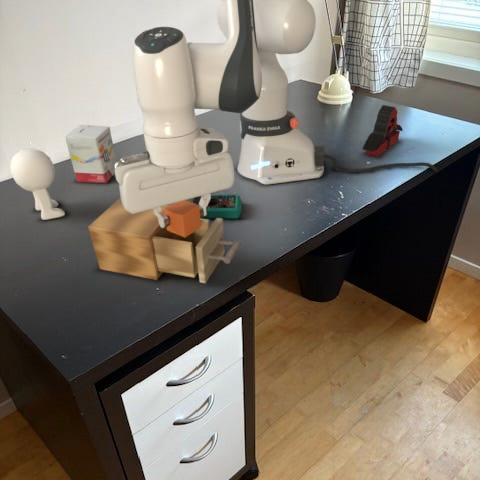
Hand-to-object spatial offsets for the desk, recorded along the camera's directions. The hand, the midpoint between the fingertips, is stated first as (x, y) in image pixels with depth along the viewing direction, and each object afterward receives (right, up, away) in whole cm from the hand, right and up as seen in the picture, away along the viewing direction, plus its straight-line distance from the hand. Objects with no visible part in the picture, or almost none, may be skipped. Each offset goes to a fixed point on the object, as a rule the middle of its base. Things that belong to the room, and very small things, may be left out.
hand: (183, 220), depth 87 cm
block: (0, -1, +1) cm, 2 cm away
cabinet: (-10, -6, +10) cm, 15 cm away
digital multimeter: (+3, +6, +23) cm, 24 cm away
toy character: (-35, +7, +25) cm, 43 cm away
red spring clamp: (+50, +29, +46) cm, 74 cm away
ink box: (-27, +20, +39) cm, 52 cm away
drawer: (+2, -7, +6) cm, 10 cm away
